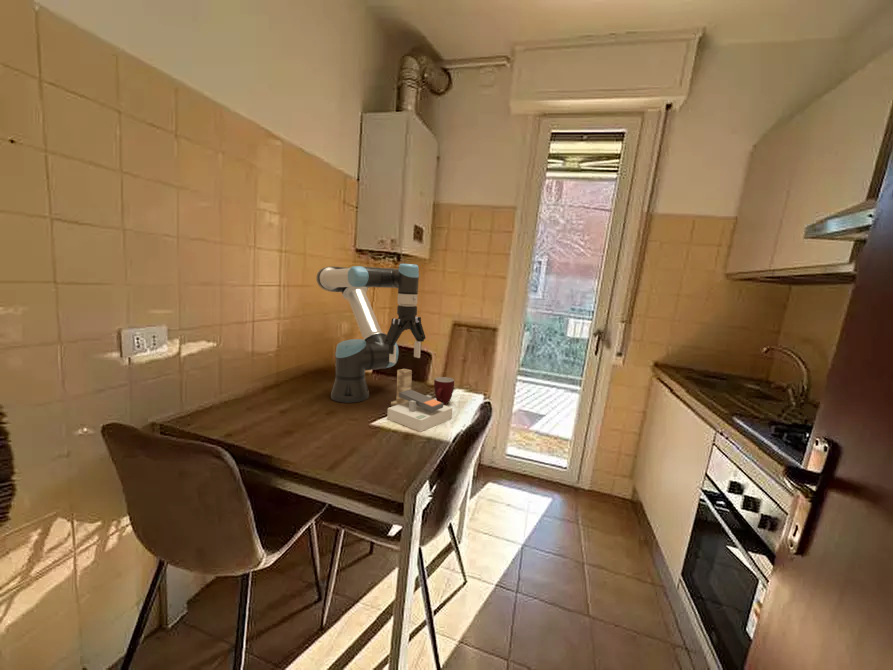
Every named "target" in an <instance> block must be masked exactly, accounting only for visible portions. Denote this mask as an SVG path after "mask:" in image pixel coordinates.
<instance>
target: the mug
mask: <svg viewBox="0 0 893 670" xmlns="http://www.w3.org/2000/svg"><path fill="white" fill-rule="evenodd" d="M433 381H434V382H433V389H434V394H435V400H437V401H439V402H441V403H444V404H443V405H445V406H448V404H449V402H450V400H452V396H453V392H454V388H455V379H454V378H452V377H448V376H438V377H434V380H433Z"/></svg>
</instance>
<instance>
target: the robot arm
mask: <svg viewBox="0 0 893 670" xmlns="http://www.w3.org/2000/svg"><path fill="white" fill-rule="evenodd" d="M398 265H399V266H398V268H394V267H393V268H392V267H372V266H362V265H358V266H350V267H344V266H343V267H342V266H333V265H332V266H326V267H322V268H321V269H319V270H318V272H317V273H316V284H317V285H318V286H319V288H321V289H322V290H324V291H327V292H330V293H341V294H342V297H343V298H344V299H345V300H347V301H348V303H349V306H350V308H351V311H352V313H353V315H354V316H353V317H354V318H355V321H356V324H357V326H358V329H359V331H360V334H361V336H362V339H360V338H355V339H353V338H352V339H347V340H343V341H340V342H339V343H337V345H336V348H335V354H334V356H335V380H334V383H333V386H332V389H331V392H330V398H331V400H333V401H334V402H338V403H344V404H345V403H349V404H350V403H359V402H362V401H366V400H368V399H369V398H370V397H369V396H370V391H369V389H368V388H369V387H368V384H367V380H366V371H371V370H374V371H375V370H380V369H387V368H388V369H389V368H392V367H394V366H395V365H396V364H397V362H398V359H399V346H398V344H397V342H398V340H399V338H400V337H401V335H402V334H403V332H405V331H408V330H409V331H410V332H411V334H412V335H413V337H414V339H415V340H414V343H413V347H414V348H413V358H417V359H420V358H421V349H422V342H423V343H424V342H425V340H426V334H425V331H424V327H423V325H422V317H421V316H418V306H417V305H418V297H419V296H418V295H419V281H420V274H419V273H420V272H419V271H420V270H419V265H417V264H414V263H413V264H412V263H400V264H398ZM369 288H391V289H397V304H398V305H397V306H396V307H397V309H396V310H397V311H396V314H397V316H398V318H394V317H393V318H392V317H391V318H392V319H391V321H390V327H389V329H388V331H387V334H386V333H384V332H383V331H382V329H381V327H380V324H379V321H378V319H377V317H376V315H375V312H374V309H373V308H372V305H371V303H370V302H371V301H370V300H369V298H368V295H367V292H368V289H369Z"/></svg>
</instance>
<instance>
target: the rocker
mask: <svg viewBox="0 0 893 670" xmlns="http://www.w3.org/2000/svg"><path fill="white" fill-rule="evenodd" d="M399 397H401V398H403V399H405V400H407V401H411V400H413V401H416V405H418V406H420V407H423V408H425V409H427V410H429V411H431V412H433V411H436V410H438V409H441V408H443V404H444V403H441V402H439V401H437V399H436V398H435V399H434V398H433V397H432V398H430V397H428V396H426V395H425V394H422V393H421V392H418V391H416V390H414V389H412V388H411V389H410V390H406V391H403V392H400V393H399Z"/></svg>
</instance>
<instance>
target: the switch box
mask: <svg viewBox="0 0 893 670" xmlns="http://www.w3.org/2000/svg"><path fill="white" fill-rule="evenodd" d="M425 396H428V397H430V398H432V399H433V396H432V395H428V394H427V395H425ZM386 416H387V418H386V419H387V420H390V421H392V422H394V423H397V424H400V425H402V426H405V427H408V428H409V429H412V430H414V431H418V432H419V433H421V432H424V431H426V430H428V429H431V428H433V427H436V426H438V425H441V424H442V423H445V422H447V421H450V420H452V419H453V407H451V406H448V405H443V408H441V409H438V410H436V411H433V412H431V411H429V410H427V409H425V408H423V407H420V406H418V405H416V401H413V400H411V401H408V402H405V403H402V404H399V405H396V406H391V407H387V415H386Z"/></svg>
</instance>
